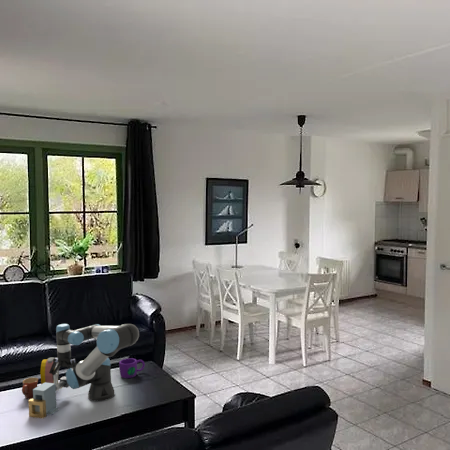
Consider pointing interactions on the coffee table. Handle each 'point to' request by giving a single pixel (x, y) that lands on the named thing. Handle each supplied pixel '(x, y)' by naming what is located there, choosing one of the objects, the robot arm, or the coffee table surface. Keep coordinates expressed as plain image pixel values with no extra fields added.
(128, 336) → the robot arm
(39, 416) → the frame
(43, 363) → the alarm clock
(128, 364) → the mug
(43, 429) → the coffee table surface
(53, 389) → the pillow block
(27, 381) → the mug
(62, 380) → the shaft
